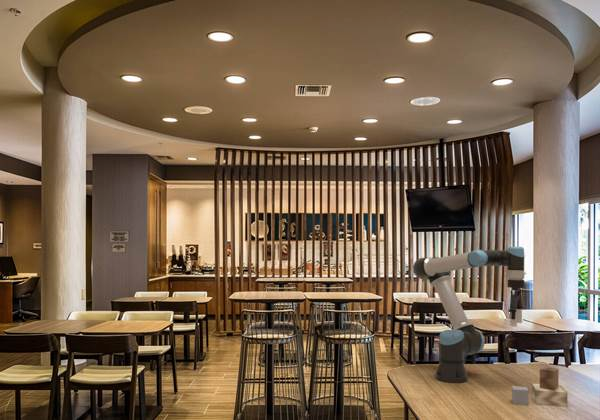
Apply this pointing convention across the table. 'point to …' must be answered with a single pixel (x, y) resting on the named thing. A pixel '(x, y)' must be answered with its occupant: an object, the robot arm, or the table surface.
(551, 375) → the walnut block
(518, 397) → the slate cube
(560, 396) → the birch block
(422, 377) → the table surface
